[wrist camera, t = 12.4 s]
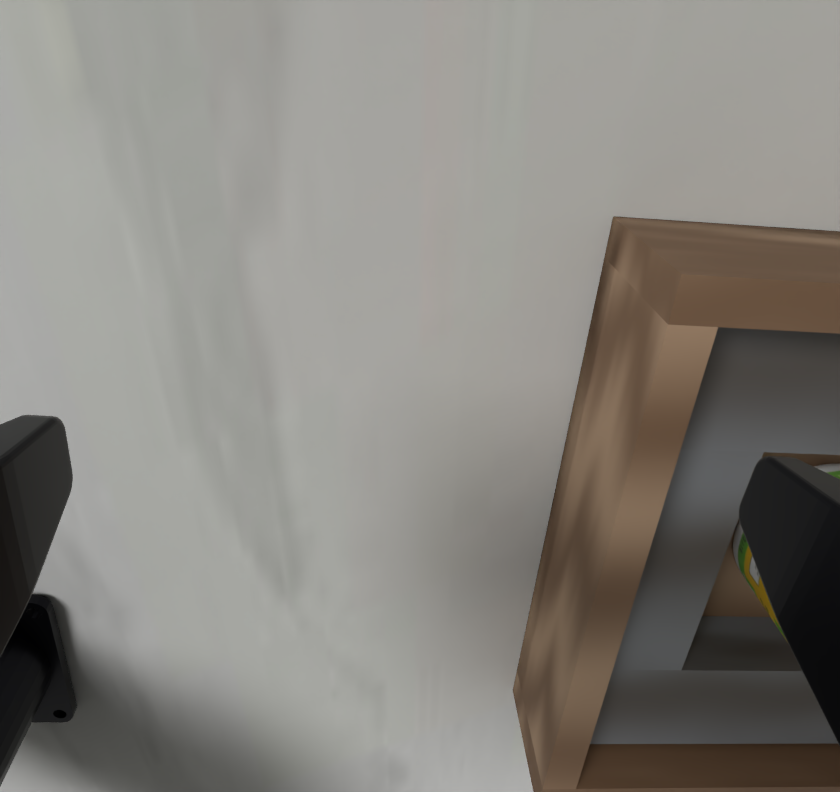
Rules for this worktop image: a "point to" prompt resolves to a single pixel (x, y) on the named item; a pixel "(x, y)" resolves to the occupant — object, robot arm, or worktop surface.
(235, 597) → the worktop surface
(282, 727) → the worktop surface
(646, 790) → the tray
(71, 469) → the robot arm
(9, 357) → the worktop surface
